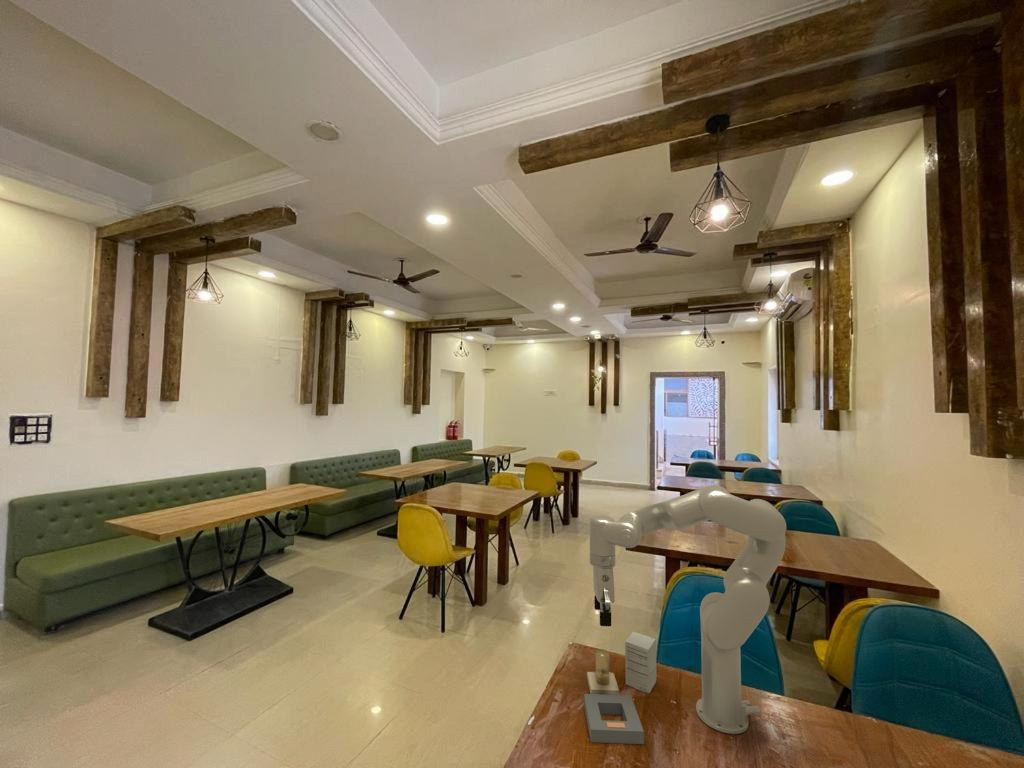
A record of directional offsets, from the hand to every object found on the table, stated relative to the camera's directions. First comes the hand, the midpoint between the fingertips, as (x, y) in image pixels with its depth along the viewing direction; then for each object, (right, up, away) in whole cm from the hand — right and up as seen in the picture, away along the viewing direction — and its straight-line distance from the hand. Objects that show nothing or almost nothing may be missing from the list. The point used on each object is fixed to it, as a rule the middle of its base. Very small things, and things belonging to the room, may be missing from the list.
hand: (602, 617), depth 125 cm
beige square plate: (0, -20, -1) cm, 20 cm away
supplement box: (+12, -21, +1) cm, 24 cm away
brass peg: (0, -18, -1) cm, 18 cm away
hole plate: (-1, -20, -15) cm, 25 cm away
